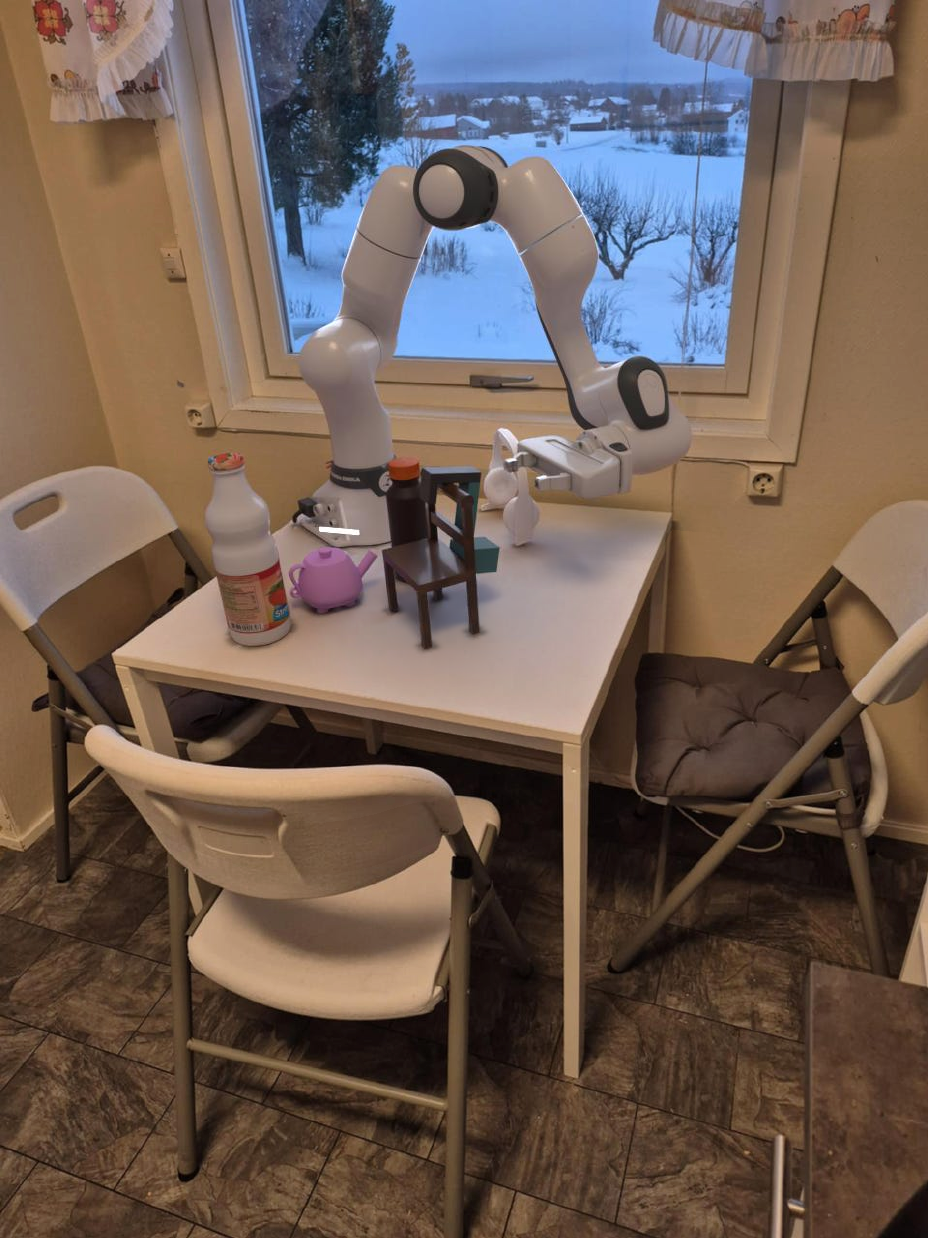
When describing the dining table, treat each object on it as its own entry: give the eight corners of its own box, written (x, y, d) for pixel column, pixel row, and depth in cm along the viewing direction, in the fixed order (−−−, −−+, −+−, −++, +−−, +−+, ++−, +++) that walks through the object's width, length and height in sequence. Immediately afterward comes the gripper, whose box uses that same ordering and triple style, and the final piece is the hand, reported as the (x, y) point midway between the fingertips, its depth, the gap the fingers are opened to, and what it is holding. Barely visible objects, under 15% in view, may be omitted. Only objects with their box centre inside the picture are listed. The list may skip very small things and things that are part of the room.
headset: (543, 544, 153) (542, 448, 144) (505, 550, 152) (501, 453, 143) (514, 504, 170) (512, 416, 161) (480, 509, 169) (475, 420, 160)
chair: (442, 594, 139) (431, 465, 128) (482, 631, 128) (474, 493, 117) (388, 609, 136) (373, 478, 125) (425, 649, 124) (411, 508, 114)
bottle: (417, 561, 150) (406, 452, 140) (442, 573, 146) (433, 460, 136) (386, 575, 146) (373, 463, 136) (412, 587, 142) (400, 472, 132)
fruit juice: (227, 624, 135) (187, 453, 121) (286, 611, 137) (254, 442, 123) (234, 653, 127) (192, 474, 113) (297, 639, 129) (264, 461, 115)
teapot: (285, 597, 141) (276, 545, 137) (372, 576, 146) (366, 526, 141) (300, 624, 133) (290, 571, 128) (391, 602, 138) (385, 549, 133)
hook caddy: (481, 560, 134) (494, 463, 127) (496, 572, 130) (509, 473, 124) (410, 566, 128) (419, 465, 122) (423, 578, 125) (433, 475, 118)
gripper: (562, 420, 139) (487, 437, 134) (638, 454, 123) (556, 474, 118) (562, 458, 142) (489, 475, 137) (636, 496, 126) (556, 517, 121)
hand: (520, 475), depth 128 cm, fingers open, 8 cm apart
